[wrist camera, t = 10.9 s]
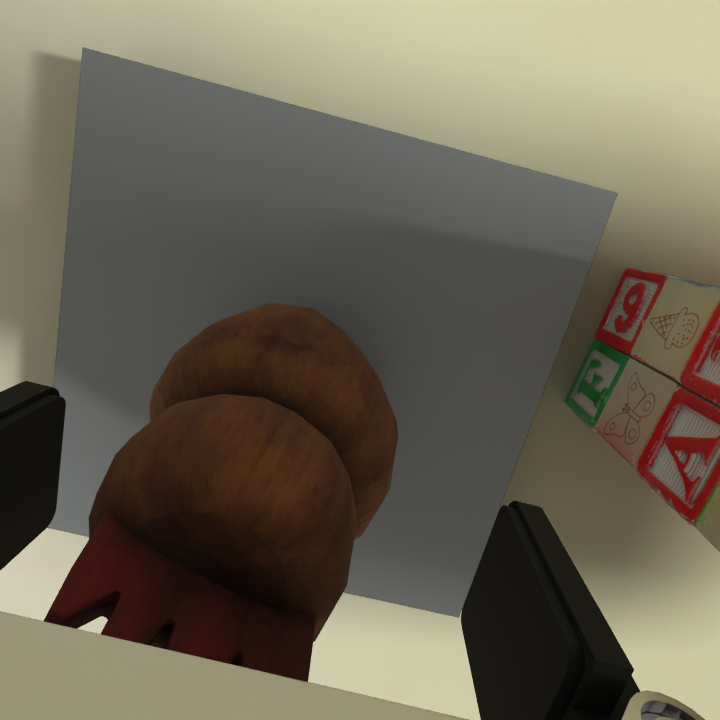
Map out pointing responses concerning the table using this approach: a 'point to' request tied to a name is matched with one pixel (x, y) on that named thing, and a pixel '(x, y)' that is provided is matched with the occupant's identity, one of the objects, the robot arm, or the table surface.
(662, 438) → the stack of blocks
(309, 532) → the wooden figurine
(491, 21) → the table surface
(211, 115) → the slate plinth
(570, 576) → the robot arm
